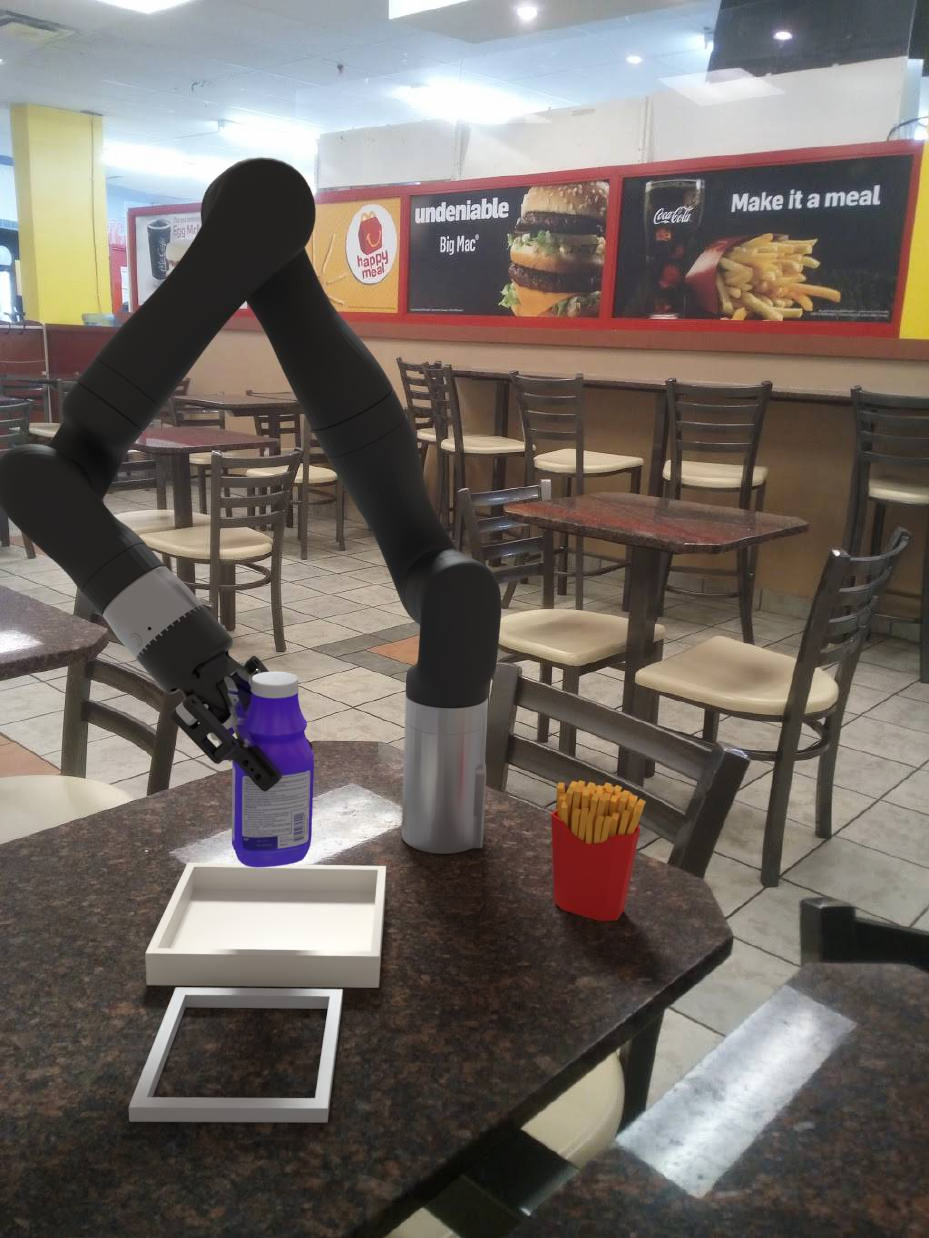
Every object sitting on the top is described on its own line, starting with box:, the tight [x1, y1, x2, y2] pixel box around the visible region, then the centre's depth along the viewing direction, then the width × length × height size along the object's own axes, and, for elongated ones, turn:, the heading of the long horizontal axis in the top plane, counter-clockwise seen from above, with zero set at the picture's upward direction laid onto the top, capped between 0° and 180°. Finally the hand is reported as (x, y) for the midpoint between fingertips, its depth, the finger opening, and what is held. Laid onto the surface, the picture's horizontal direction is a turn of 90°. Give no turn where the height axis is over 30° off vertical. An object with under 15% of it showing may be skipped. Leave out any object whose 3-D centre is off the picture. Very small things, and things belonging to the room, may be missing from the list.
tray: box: [144, 862, 387, 989], centre depth 94 cm, size 20×16×3 cm
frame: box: [128, 986, 344, 1124], centre depth 78 cm, size 14×14×1 cm
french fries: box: [550, 780, 647, 922], centre depth 100 cm, size 9×4×13 cm, turn 63°
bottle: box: [231, 671, 315, 867], centre depth 90 cm, size 7×6×17 cm
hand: (290, 768), depth 90 cm, fingers closed on bottle, 6 cm apart
